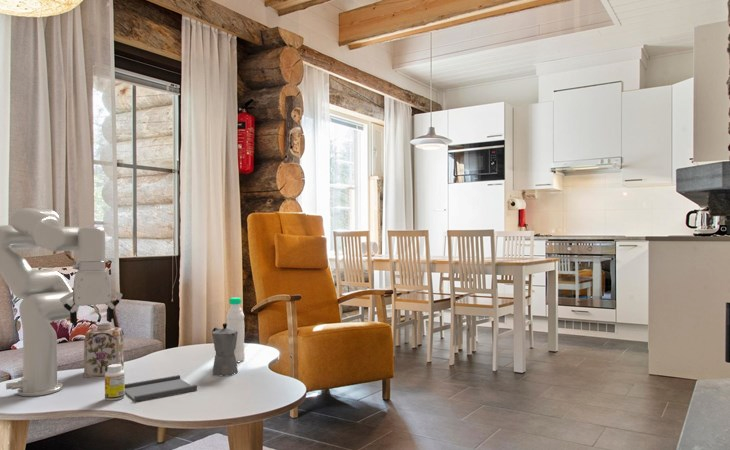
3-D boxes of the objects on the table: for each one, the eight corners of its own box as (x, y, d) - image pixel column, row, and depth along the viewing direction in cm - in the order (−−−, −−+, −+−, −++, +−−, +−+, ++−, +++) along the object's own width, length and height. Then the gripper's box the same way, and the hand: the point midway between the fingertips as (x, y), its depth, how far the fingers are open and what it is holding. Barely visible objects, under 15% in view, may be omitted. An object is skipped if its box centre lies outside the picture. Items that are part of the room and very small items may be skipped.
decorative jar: (83, 378, 194) (83, 327, 194) (90, 370, 205) (90, 322, 205) (119, 375, 197) (119, 325, 197) (124, 367, 208) (124, 320, 208)
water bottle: (224, 359, 219) (224, 297, 219) (242, 358, 222) (242, 296, 222) (228, 363, 213) (227, 299, 213) (246, 361, 216) (246, 298, 216)
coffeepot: (246, 373, 197) (245, 323, 197) (222, 378, 191) (222, 327, 191) (224, 366, 208) (224, 319, 208) (201, 371, 202) (201, 322, 202)
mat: (135, 401, 165) (135, 397, 165) (121, 389, 179) (121, 384, 179) (196, 390, 177) (196, 385, 177) (179, 379, 190) (178, 375, 190)
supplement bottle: (106, 396, 171) (106, 363, 171) (125, 395, 173) (125, 362, 173) (103, 401, 166) (103, 368, 166) (123, 400, 167) (123, 366, 168)
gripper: (61, 269, 159) (62, 328, 158) (125, 266, 169) (125, 321, 169) (57, 268, 165) (57, 325, 164) (118, 265, 175) (119, 318, 175)
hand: (92, 323), depth 167 cm, fingers open, 9 cm apart
